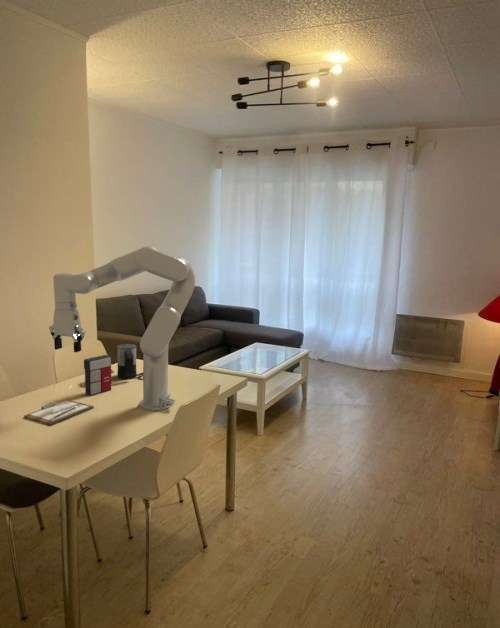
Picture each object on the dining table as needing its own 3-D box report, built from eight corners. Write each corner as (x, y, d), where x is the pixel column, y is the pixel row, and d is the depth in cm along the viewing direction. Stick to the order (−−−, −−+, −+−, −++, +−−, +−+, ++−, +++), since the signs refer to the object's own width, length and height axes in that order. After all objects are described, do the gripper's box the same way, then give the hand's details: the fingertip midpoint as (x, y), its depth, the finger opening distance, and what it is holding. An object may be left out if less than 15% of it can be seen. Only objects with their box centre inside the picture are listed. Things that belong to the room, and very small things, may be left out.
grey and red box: (90, 396, 198) (89, 361, 196) (84, 394, 201) (83, 359, 198) (112, 390, 207) (112, 356, 204) (106, 387, 209) (105, 354, 207)
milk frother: (113, 375, 227) (113, 345, 225) (143, 370, 238) (143, 341, 235) (127, 383, 217) (127, 351, 214) (158, 377, 227) (158, 346, 225)
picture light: (50, 420, 170) (50, 414, 169) (41, 418, 171) (41, 412, 171) (78, 407, 183) (77, 402, 182) (69, 405, 184) (68, 400, 184)
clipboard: (93, 408, 185) (93, 403, 185) (51, 425, 167) (51, 420, 167) (67, 401, 191) (67, 397, 191) (24, 417, 174) (24, 413, 173)
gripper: (90, 306, 181) (92, 350, 184) (56, 303, 188) (58, 345, 191) (75, 309, 174) (78, 355, 177) (40, 305, 181) (43, 349, 184)
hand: (67, 350), depth 184 cm, fingers open, 9 cm apart
